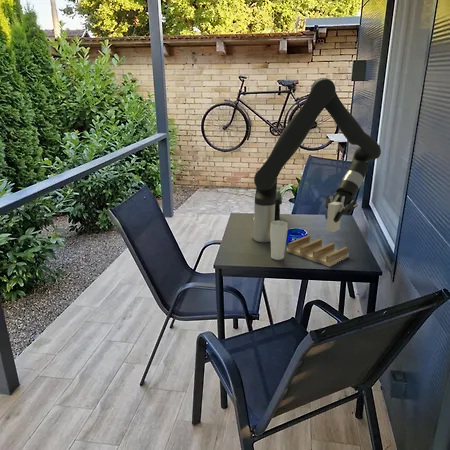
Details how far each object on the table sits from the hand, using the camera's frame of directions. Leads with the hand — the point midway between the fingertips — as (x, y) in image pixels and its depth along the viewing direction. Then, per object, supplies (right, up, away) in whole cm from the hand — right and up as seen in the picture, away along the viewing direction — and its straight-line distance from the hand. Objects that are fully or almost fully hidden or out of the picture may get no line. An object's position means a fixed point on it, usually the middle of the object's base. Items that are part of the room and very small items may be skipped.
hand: (331, 220), depth 153 cm
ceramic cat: (-16, 0, +54) cm, 57 cm away
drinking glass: (-20, -16, +7) cm, 26 cm away
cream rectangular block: (+1, -4, +3) cm, 5 cm away
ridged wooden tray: (-3, -14, +11) cm, 18 cm away
